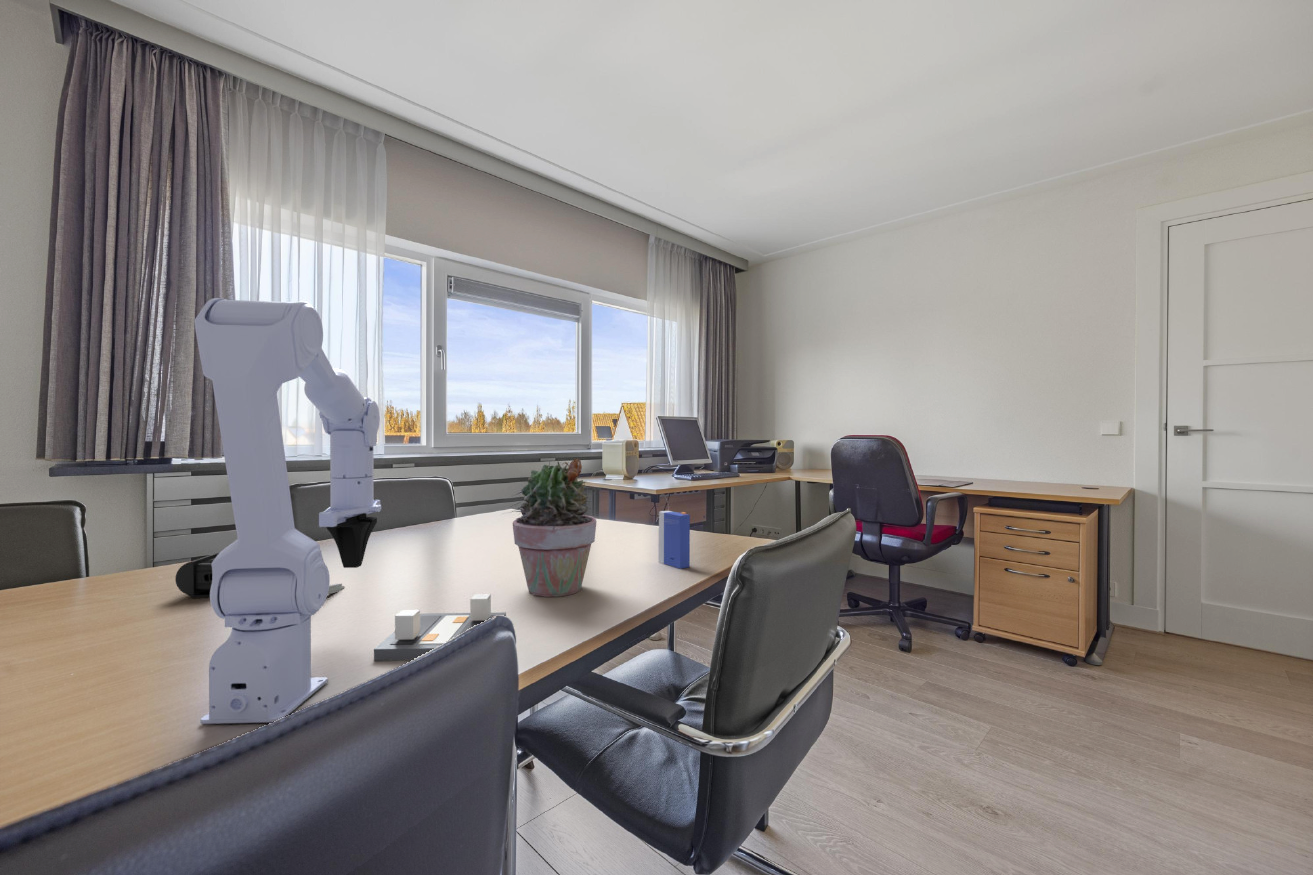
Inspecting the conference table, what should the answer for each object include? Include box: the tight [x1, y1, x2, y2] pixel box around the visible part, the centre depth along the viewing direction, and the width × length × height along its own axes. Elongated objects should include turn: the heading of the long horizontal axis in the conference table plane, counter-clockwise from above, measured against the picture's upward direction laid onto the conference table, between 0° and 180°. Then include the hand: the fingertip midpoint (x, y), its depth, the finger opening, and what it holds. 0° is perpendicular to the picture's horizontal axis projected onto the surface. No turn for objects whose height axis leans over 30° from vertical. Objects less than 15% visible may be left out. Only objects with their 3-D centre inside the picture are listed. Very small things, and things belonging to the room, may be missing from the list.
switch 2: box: [469, 593, 492, 621], centre depth 83 cm, size 2×2×3 cm
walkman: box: [658, 510, 691, 570], centre depth 124 cm, size 8×3×12 cm, turn 37°
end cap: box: [174, 551, 221, 599], centre depth 103 cm, size 10×7×7 cm
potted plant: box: [502, 458, 604, 598], centre depth 105 cm, size 18×20×25 cm
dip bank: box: [373, 611, 507, 662], centre depth 79 cm, size 14×14×2 cm
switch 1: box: [394, 609, 421, 640], centre depth 76 cm, size 2×2×3 cm
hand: (352, 566), depth 83 cm, fingers closed
